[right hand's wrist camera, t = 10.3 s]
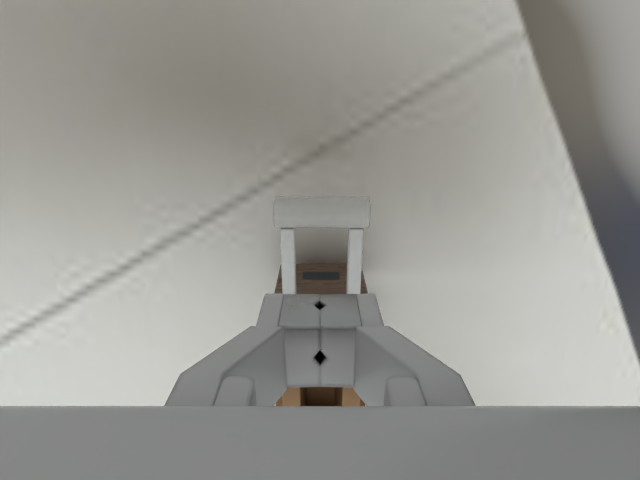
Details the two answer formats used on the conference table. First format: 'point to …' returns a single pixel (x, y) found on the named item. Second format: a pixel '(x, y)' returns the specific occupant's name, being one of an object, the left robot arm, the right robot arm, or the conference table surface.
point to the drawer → (321, 270)
